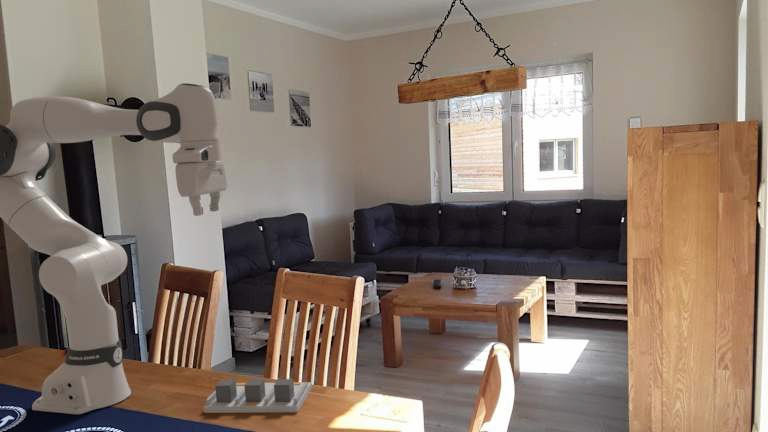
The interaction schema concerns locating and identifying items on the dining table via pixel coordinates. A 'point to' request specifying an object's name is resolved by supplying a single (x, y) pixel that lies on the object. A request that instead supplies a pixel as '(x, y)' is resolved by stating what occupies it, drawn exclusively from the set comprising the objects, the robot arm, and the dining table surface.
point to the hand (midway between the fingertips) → (206, 213)
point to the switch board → (259, 407)
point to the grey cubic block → (255, 390)
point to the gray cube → (226, 391)
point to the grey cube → (284, 390)
